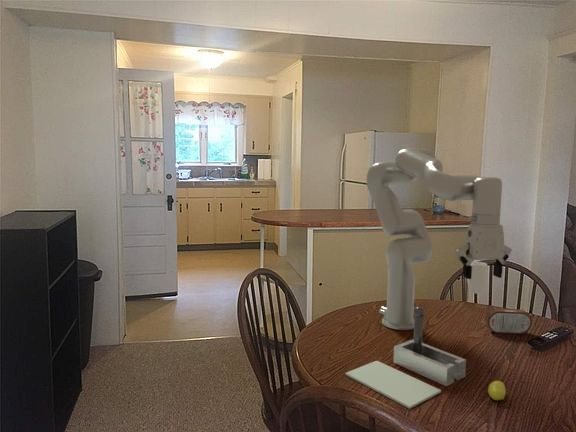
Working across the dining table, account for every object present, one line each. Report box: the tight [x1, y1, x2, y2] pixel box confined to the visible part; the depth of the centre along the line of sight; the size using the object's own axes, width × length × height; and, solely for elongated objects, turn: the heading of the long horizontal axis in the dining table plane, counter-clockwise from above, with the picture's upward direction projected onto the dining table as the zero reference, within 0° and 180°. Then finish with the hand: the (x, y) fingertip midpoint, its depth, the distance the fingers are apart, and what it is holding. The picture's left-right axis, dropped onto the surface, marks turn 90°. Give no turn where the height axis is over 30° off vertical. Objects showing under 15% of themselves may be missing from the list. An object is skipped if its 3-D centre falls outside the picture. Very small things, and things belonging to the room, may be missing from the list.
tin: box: [484, 307, 533, 335], centre depth 163 cm, size 15×3×8 cm, turn 84°
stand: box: [413, 306, 426, 355], centre depth 137 cm, size 4×4×18 cm
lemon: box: [487, 380, 507, 401], centre depth 120 cm, size 4×8×4 cm, turn 148°
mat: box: [345, 360, 442, 410], centre depth 127 cm, size 22×13×1 cm, turn 38°
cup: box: [466, 261, 489, 295], centre depth 178 cm, size 7×7×21 cm
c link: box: [392, 338, 467, 387], centre depth 135 cm, size 18×9×5 cm, turn 38°
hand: (482, 277), depth 138 cm, fingers open, 9 cm apart
